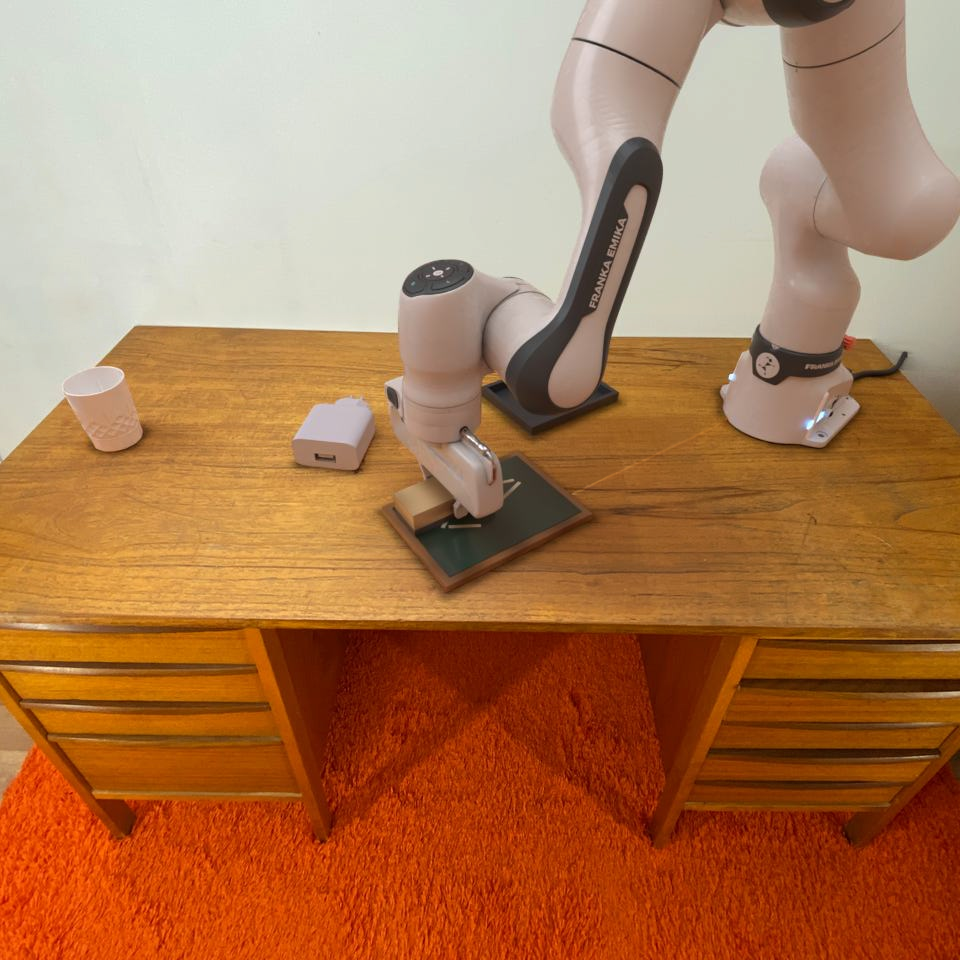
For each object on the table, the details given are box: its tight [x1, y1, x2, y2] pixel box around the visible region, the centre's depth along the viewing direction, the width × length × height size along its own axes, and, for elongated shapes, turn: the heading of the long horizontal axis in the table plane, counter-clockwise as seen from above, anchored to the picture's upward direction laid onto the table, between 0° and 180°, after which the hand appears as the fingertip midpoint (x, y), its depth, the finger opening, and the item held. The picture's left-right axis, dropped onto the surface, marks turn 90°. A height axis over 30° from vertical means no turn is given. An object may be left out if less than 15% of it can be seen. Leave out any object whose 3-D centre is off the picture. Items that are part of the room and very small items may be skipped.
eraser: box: [393, 477, 469, 536], centre depth 81 cm, size 12×5×4 cm, turn 124°
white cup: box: [60, 365, 144, 453], centre depth 91 cm, size 8×8×10 cm
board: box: [381, 450, 594, 593], centre depth 82 cm, size 22×16×1 cm
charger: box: [290, 394, 377, 471], centre depth 94 cm, size 5×9×15 cm
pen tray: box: [482, 378, 620, 436], centre depth 103 cm, size 18×14×2 cm
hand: (445, 499), depth 81 cm, fingers closed on eraser, 5 cm apart
